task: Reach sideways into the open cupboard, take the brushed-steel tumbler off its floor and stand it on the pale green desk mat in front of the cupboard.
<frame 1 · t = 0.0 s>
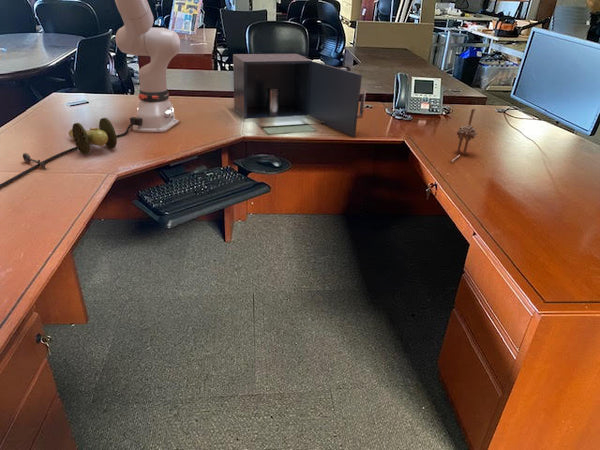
key: (35, 166, 150), on the table
travel mug: (339, 106, 238), on the table
cupboard: (271, 113, 219), on the table
cannon: (90, 147, 168), on the table
cupboard door: (338, 97, 200), point 13 cm above the table, hinge at 105.0°
steel tumbler: (273, 112, 216), point 1 cm above the table, touching cupboard
ostrich figurine: (457, 157, 178), on the table
desk mat: (285, 126, 202), on the table
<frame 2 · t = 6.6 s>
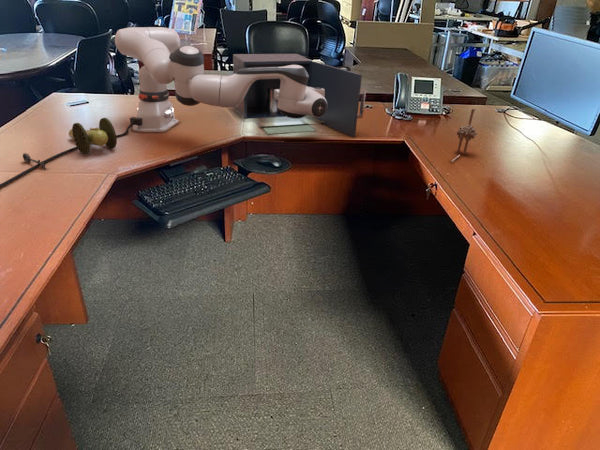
hand: (292, 90, 187), 18 cm above the table, tool horizontal, fingers open, 8 cm apart
nothing on the table moved.
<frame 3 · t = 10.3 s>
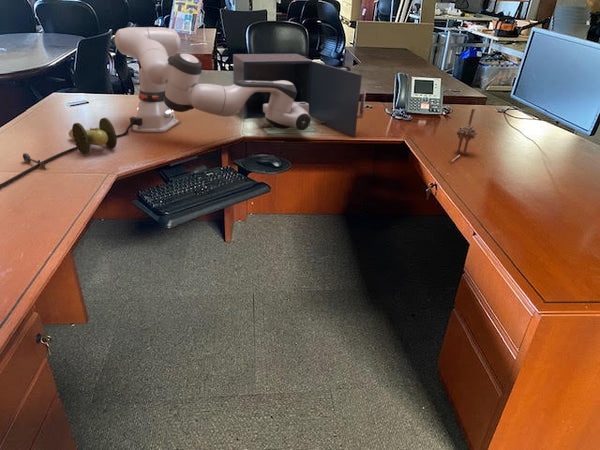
hand: (280, 103, 204), 8 cm above the table, tool horizontal, fingers open, 8 cm apart
nothing on the table moved.
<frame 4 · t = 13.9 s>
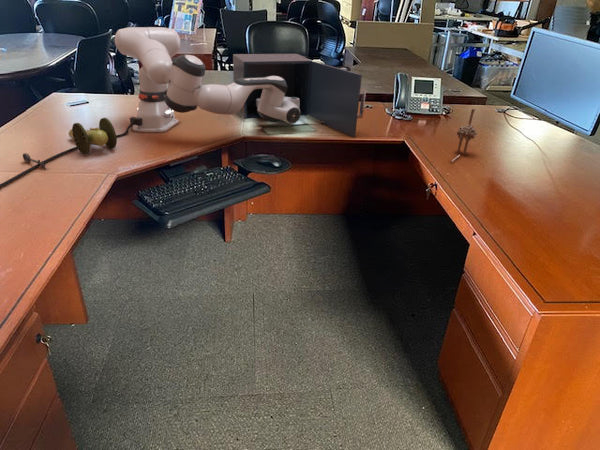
hand: (272, 98, 214), 8 cm above the table, tool horizontal, fingers closed on steel tumbler, 6 cm apart
steel tumbler: (272, 112, 216), point 1 cm above the table, touching cupboard, gripper
everything else where it was.
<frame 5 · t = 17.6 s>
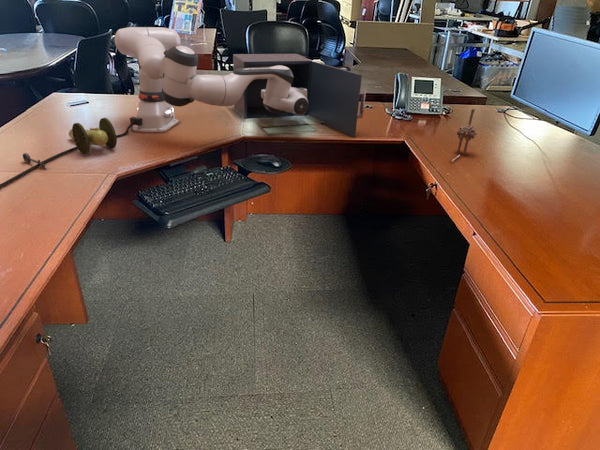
hand: (278, 90, 204), 14 cm above the table, tool horizontal, fingers closed on steel tumbler, 6 cm apart
steel tumbler: (278, 104, 206), point 7 cm above the table, touching gripper
everything else where it was.
when the fingers open (7 cm above the table, at t = 21.6 s): steel tumbler stays where it is, resting on desk mat.
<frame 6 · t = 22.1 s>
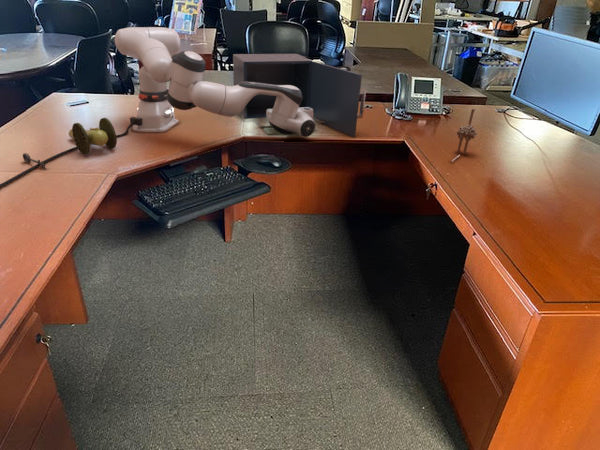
hand: (284, 109, 200), 7 cm above the table, tool horizontal, fingers open, 8 cm apart
steel tumbler: (284, 124, 203), resting on desk mat
everything else where it was.
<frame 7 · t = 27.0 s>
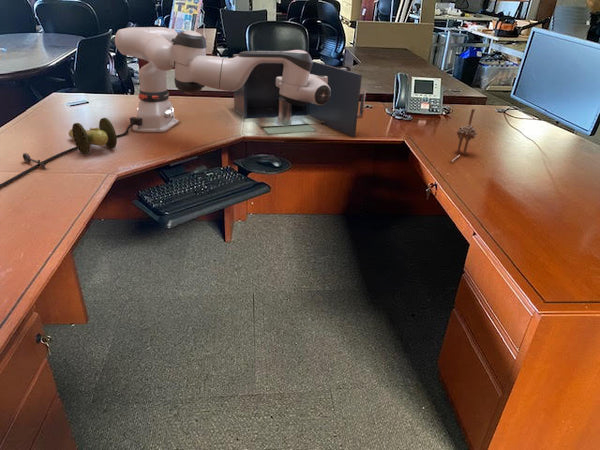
hand: (294, 78, 183), 23 cm above the table, tool horizontal, fingers open, 8 cm apart
nothing on the table moved.
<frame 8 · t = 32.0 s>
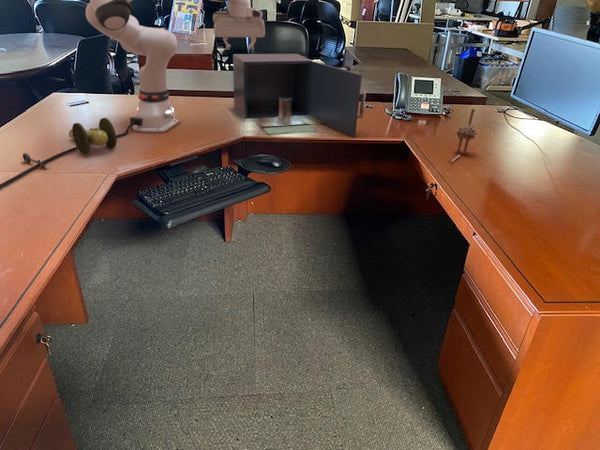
hand: (239, 49, 179), 33 cm above the table, tool pointing down, fingers open, 8 cm apart
nothing on the table moved.
at the end: steel tumbler 1.9 cm from the desk mat (horizontally); steel tumbler resting on desk mat; steel tumbler tilted 0° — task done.
